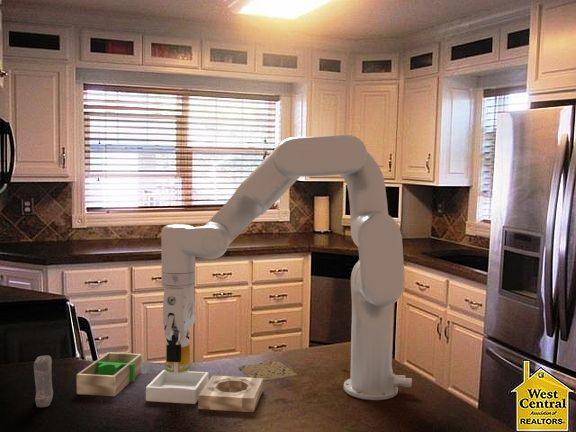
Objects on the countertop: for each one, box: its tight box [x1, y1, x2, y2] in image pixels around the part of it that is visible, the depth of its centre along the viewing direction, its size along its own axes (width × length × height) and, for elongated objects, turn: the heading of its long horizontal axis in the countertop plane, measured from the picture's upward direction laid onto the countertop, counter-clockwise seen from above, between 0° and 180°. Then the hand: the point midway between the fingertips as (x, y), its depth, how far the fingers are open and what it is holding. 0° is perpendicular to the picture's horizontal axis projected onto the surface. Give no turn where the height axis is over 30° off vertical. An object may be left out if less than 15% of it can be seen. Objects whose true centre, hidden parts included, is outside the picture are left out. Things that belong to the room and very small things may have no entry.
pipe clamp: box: [91, 360, 136, 383], centre depth 134 cm, size 10×4×4 cm, turn 81°
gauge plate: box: [197, 375, 264, 413], centre depth 124 cm, size 12×12×3 cm
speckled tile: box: [237, 360, 298, 382], centre depth 143 cm, size 12×12×1 cm
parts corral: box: [76, 351, 143, 397], centre depth 134 cm, size 9×16×4 cm, turn 173°
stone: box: [33, 354, 54, 408], centre depth 121 cm, size 3×6×10 cm, turn 13°
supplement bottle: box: [165, 328, 191, 375], centre depth 127 cm, size 5×5×10 cm
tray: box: [145, 369, 210, 405], centre depth 128 cm, size 11×11×3 cm
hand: (178, 356), depth 127 cm, fingers closed on supplement bottle, 5 cm apart
